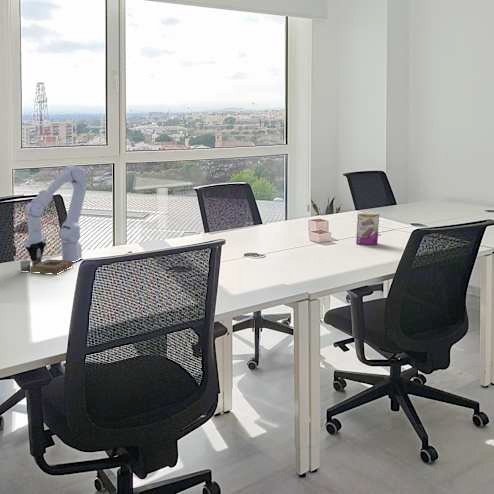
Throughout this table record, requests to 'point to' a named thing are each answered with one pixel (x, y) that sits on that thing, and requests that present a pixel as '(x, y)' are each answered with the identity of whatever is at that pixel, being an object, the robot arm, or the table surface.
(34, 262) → the tall pin
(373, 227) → the candy bar box
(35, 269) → the wooden square frame
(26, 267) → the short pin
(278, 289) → the table surface
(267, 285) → the table surface
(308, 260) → the table surface
